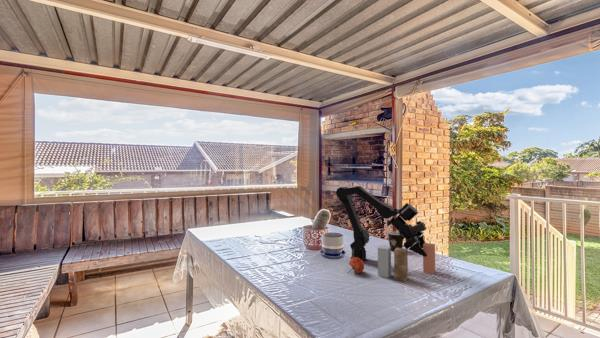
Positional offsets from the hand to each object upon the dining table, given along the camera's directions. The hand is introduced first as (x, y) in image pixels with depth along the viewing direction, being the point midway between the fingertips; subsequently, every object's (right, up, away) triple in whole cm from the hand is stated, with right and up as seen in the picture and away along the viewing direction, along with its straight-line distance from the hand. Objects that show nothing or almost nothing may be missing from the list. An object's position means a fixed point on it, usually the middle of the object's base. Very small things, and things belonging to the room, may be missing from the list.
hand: (427, 253), depth 128 cm
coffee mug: (-3, -9, +32) cm, 33 cm away
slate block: (-21, -8, -4) cm, 23 cm away
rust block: (0, -8, 0) cm, 8 cm away
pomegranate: (-33, -9, -1) cm, 34 cm away
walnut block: (-15, -8, -8) cm, 19 cm away
